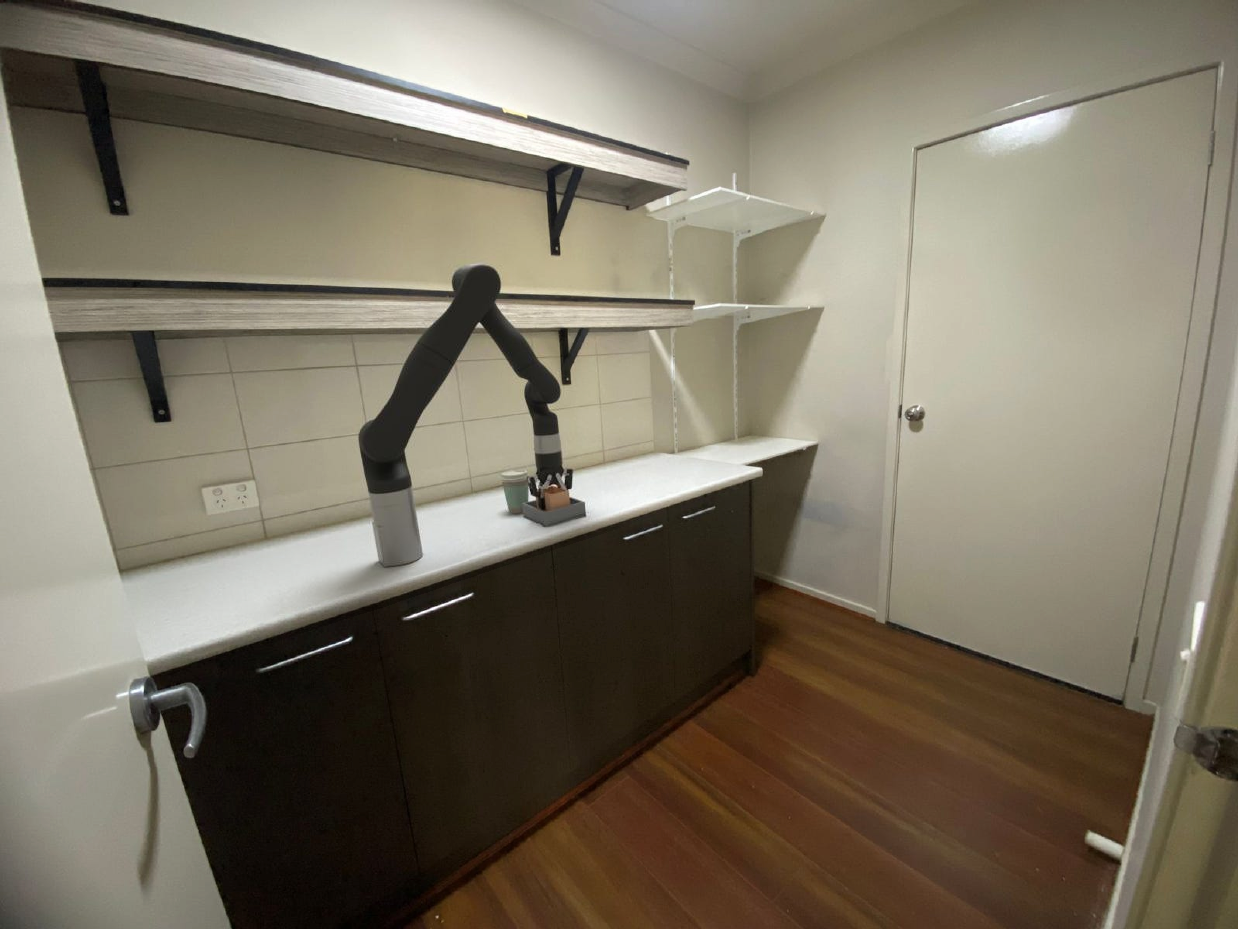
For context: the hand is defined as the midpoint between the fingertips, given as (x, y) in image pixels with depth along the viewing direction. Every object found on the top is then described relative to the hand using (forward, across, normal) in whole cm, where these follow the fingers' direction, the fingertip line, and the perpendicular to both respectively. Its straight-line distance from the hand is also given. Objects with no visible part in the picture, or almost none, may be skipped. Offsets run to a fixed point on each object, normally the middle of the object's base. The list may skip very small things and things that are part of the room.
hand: (553, 507), depth 141 cm
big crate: (+3, 0, 0) cm, 3 cm away
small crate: (+1, 0, 0) cm, 1 cm away
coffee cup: (+3, -5, +13) cm, 14 cm away
